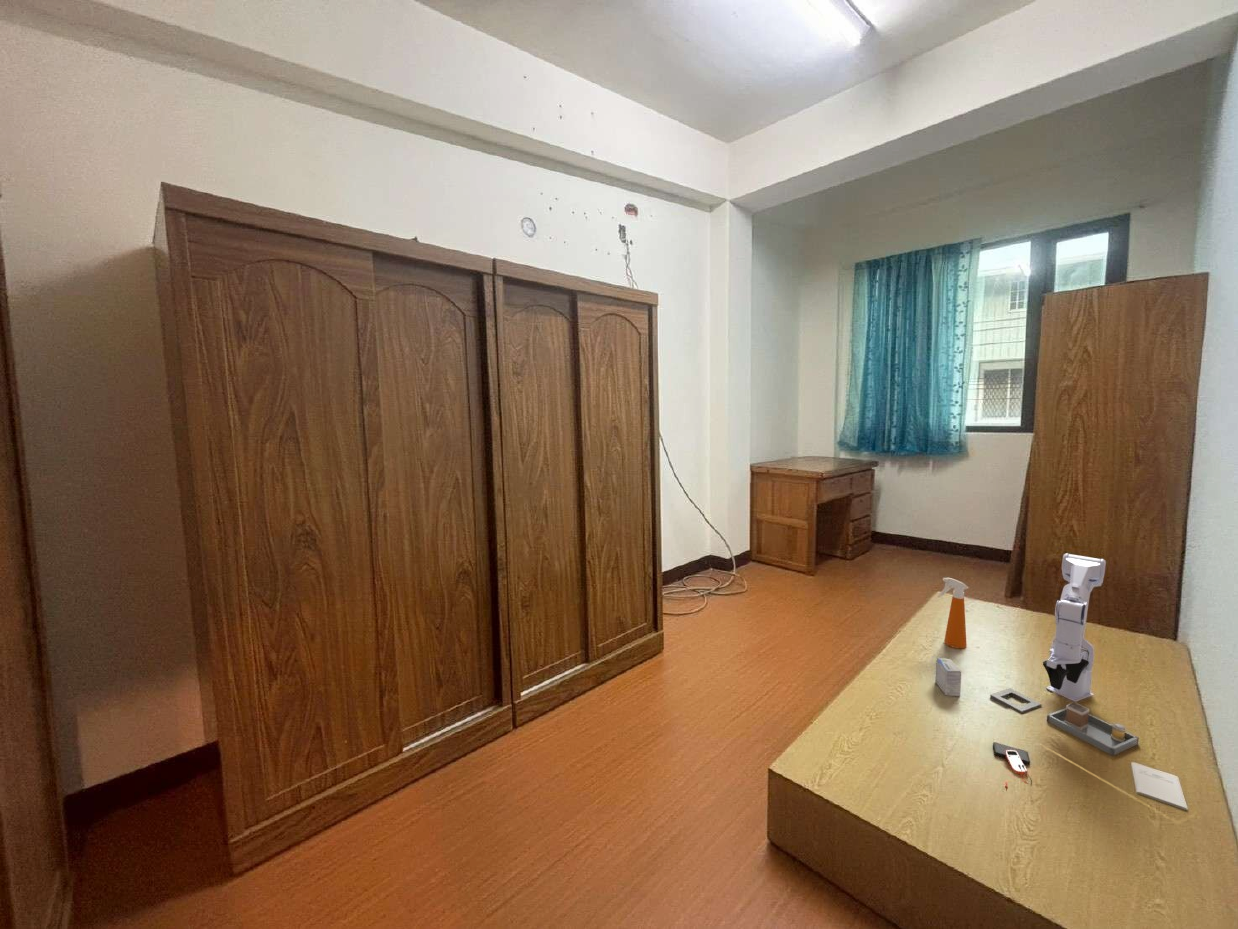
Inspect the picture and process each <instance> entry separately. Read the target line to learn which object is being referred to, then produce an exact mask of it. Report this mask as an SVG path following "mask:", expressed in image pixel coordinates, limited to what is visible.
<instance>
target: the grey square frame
mask: <svg viewBox="0 0 1238 929" xmlns="http://www.w3.org/2000/svg"><path fill="white" fill-rule="evenodd" d="M1010 697H1013V698H1015V699H1017V700H1019V701H1021V702H1023V703H1025V704H1023V705H1017V704H1015V703H1014V702H1012V701H1009V700H1008V699H1006V698H1010ZM989 698H990V699H991V700H993V701H995V702H997V704H998V703H999V704H1000V705H1003V706H1004V707H1006V708H1008V709H1012V710H1014V711H1016V712H1018V713H1019V714H1025V713H1027V712H1030V711H1032V710H1035V709H1038V708H1041V707H1042V705H1043V704H1042V703H1040V702H1039V701H1036V700H1035V699H1032V698H1031V697H1029V696H1026V695H1024V694H1022V693H1020V692H1019V691H1017V690H1015V689H1013V688H1011V687H1008V688H1006V689H1002V690H1000V691H998V692H994V693H991V694H990V696H989Z"/></svg>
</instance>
